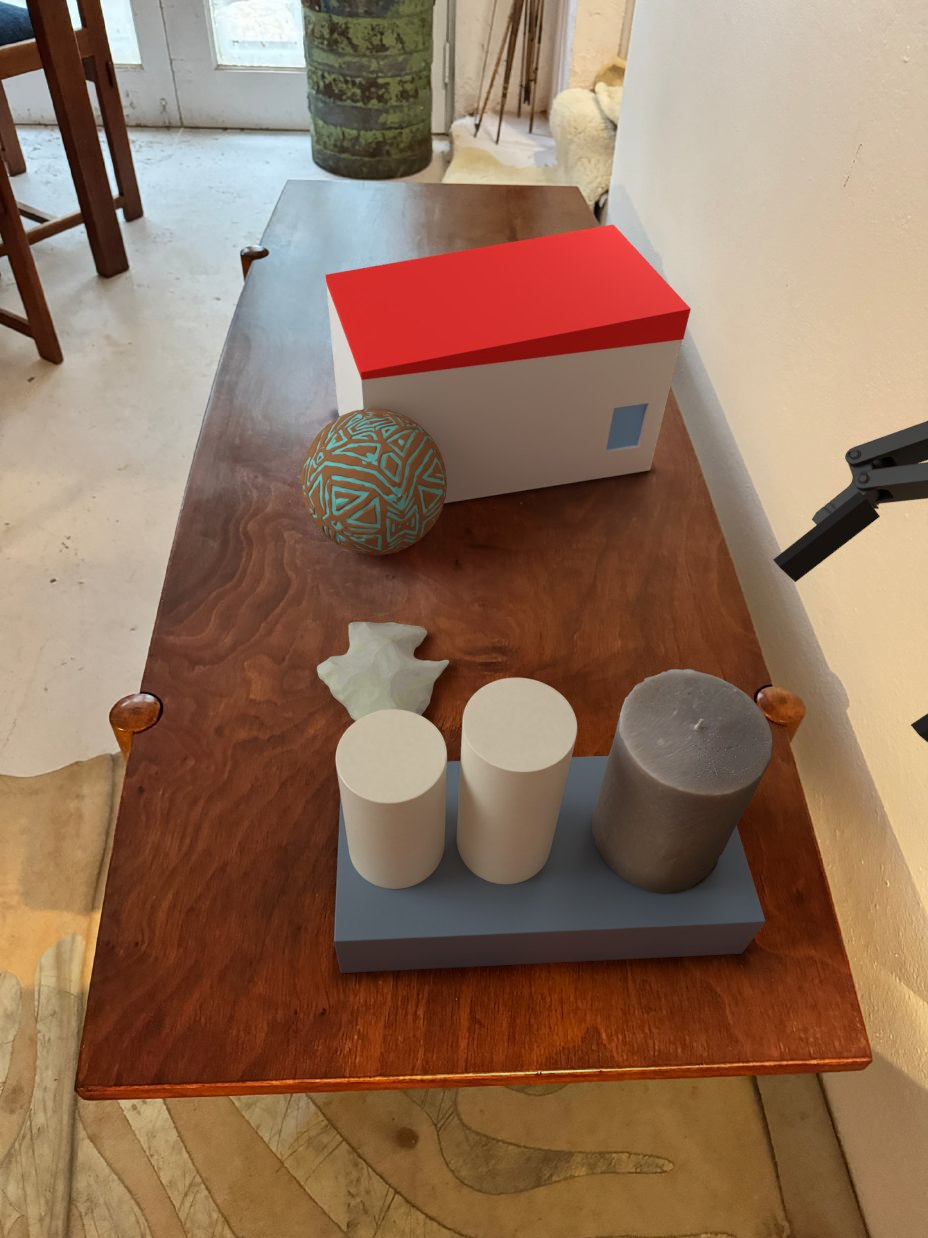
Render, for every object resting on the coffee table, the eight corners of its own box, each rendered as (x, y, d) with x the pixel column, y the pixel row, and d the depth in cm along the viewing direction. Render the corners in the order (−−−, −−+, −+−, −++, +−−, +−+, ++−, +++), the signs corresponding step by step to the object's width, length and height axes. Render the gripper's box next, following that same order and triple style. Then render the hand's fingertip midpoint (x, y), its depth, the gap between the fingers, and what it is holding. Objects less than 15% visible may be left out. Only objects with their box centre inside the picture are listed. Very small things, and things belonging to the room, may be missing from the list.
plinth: (697, 790, 73) (714, 752, 68) (742, 954, 63) (766, 921, 59) (347, 803, 71) (341, 764, 66) (340, 973, 62) (333, 941, 57)
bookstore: (653, 469, 103) (692, 308, 87) (370, 514, 96) (359, 347, 80) (590, 378, 116) (615, 224, 101) (338, 412, 109) (323, 251, 93)
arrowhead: (318, 625, 83) (313, 758, 73) (320, 602, 80) (314, 736, 70) (443, 632, 85) (454, 761, 75) (448, 609, 82) (460, 740, 73)
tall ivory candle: (570, 842, 63) (601, 725, 51) (504, 904, 59) (521, 793, 48) (503, 781, 66) (518, 659, 55) (437, 837, 62) (438, 719, 51)
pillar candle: (740, 883, 61) (809, 771, 50) (611, 905, 59) (652, 795, 48) (691, 768, 67) (743, 646, 56) (573, 786, 66) (602, 665, 55)
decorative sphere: (338, 601, 86) (325, 486, 75) (290, 514, 95) (272, 399, 84) (468, 559, 91) (474, 445, 80) (411, 479, 100) (409, 366, 89)
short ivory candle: (464, 846, 62) (470, 757, 53) (391, 909, 59) (384, 824, 50) (402, 785, 65) (397, 691, 56) (329, 841, 62) (312, 750, 53)
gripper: (1441, 582, 38) (1009, 834, 46) (1031, 317, 54) (760, 537, 61) (1470, 514, 33) (978, 811, 41) (1007, 243, 49) (714, 493, 56)
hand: (846, 647), depth 51 cm, fingers open, 13 cm apart
